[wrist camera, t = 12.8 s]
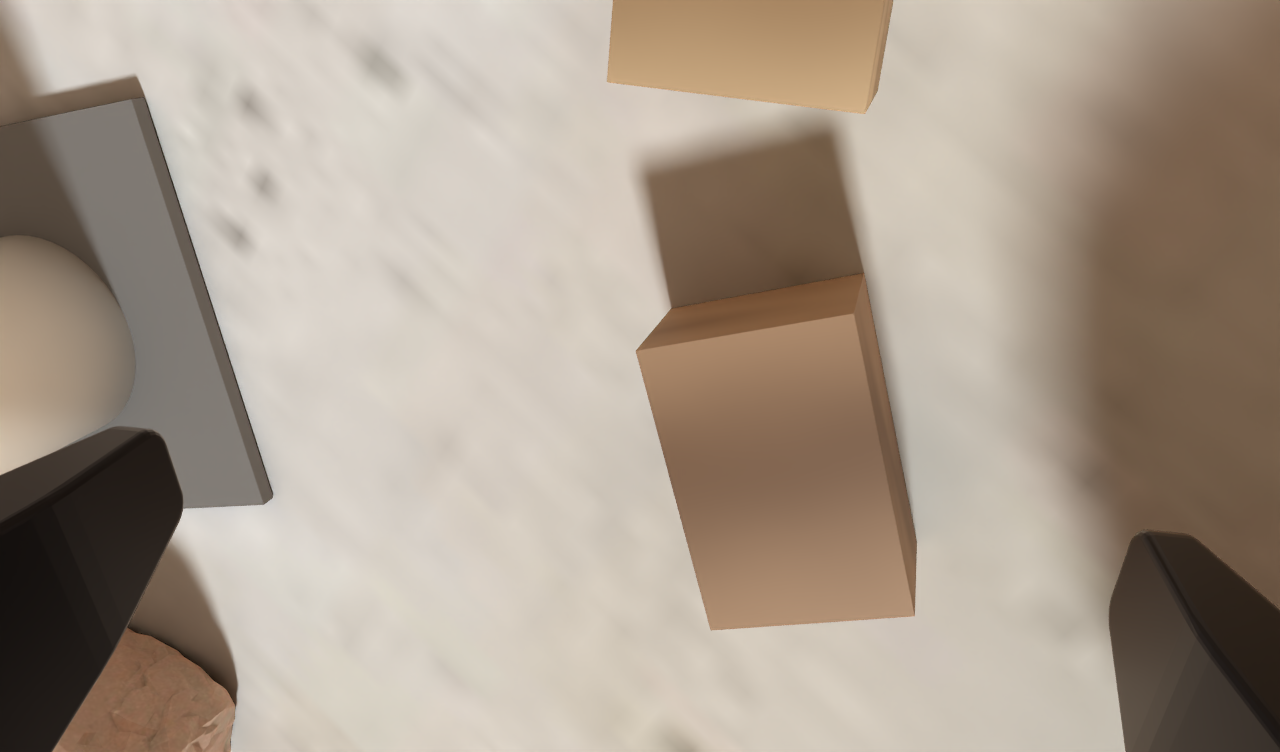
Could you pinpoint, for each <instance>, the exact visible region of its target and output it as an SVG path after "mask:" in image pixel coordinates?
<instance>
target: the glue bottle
mask: <svg viewBox="0 0 1280 752" xmlns="http://www.w3.org/2000/svg"><path fill="white" fill-rule="evenodd" d="M135 365H136V363H135V351H134V346H133V340H132V336H131V333H130V330H129V327H128V324H127V321H126V319H125V317H124V314H123V312H122V310H121V308H120V306H119V305H118V303H117V301H116V299H115V297H114V296H113V295H112V293H111V292H110V290H109V289H108V287H107V286H106V285H105V283H104V282H103V281H102V280H101V279H100V277H99V276H98V275H97V274H96V273H95V272H94V271H93V270H92V269H91V268H90V267H89V266H88V265H87V264H86V263H84V262H83V261H82V260H81V259H79V258H78V257H77V256H76V255H74V254H73V253H71V252H69V251H68V250H66V249H65V248H63V247H61V246H59V245H57V244H55V243H53V242H50V241H47V240H44V239H41V238H37V237H32V236H25V235H13V236H5V237H1V238H0V475H2V474H4V473H6V472H9V471H11V470H13V469H16V468H18V467H20V466H23V465H25V464H27V463H30V462H32V461H34V460H36V459H39V458H41V457H43V456H46V455H48V454H50V453H53V452H55V451H57V450H59V449H61V448H63V447H65V446H67V445H68V444H70V443H72V442H74V441H76V440H78V439H80V438H82V437H84V436H86V435H88V434H90V433H92V432H94V431H96V430H97V429H99V428H101V427H103V426H105V425H106V424H108V423H110V422H111V421H112V420H113V419H114V418H116V417H117V416H118V415H119V413H120V412H121V411H122V410H123V408H124V407H125V405H126V403H127V401H128V399H129V397H130V394H131V392H132V389H133V384H134V379H135Z"/></svg>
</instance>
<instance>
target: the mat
mask: <svg viewBox="0 0 1280 752" xmlns="http://www.w3.org/2000/svg"><path fill="white" fill-rule="evenodd" d="M13 235H25V236H32V237H37V238H41V239H44V240H47V241H50V242H53V243H55V244H57V245H59V246H61V247H63V248H65V249H66V250H68V251H69V252H71V253H73V254H74V255H76V256H77V257H78V258H79V259H81V260H82V261H83V262H84V263H86V264H87V265H88V266H89V267H90V268H91V269H92V270H93V271H94V272H95V273H96V274H97V275H98V276H99V277H100V279H101V280H102V281H103V282H104V283H105V285H106V286H107V287H108V289H109V290H110V292H111V293H112V295H113V296H114V297H115V299H116V301H117V303H118V305H119V306H120V308H121V310H122V312H123V314H124V317H125V319H126V321H127V324H128V327H129V330H130V333H131V336H132V340H133V346H134V351H135V363H136V365H135V379H134V384H133V389H132V392H131V394H130V397H129V399H128V401H127V403H126V405H125V407H124V408H123V410H122V411H121V412H120V413H119V415H118V416H117V417H116V418H114V419H113V420H112V421H111V422H110V423H108V424H106V425H105V426H103V427H101V428H99V429H97V430H96V431H94V432H92V433H90V434H88V435H86V436H84V437H82V438H80V439H78V440H76V441H74V442H72V443H70V444H68V445H67V446H69V445H71V444H74V443H76V442H78V441H81V440H83V439H85V438H88V437H90V436H92V435H95V434H97V433H99V432H102V431H104V430H106V429H109V428H112V427H116V426H128V427H137V428H147V429H153V430H155V431H157V432H159V433H160V434H161V436H162V437H163V438H164V440H165V442H166V444H167V447H168V450H169V453H170V456H171V459H172V462H173V465H174V468H175V471H176V474H177V477H178V480H179V483H180V486H181V489H182V492H183V500H184V504H183V508H204V507H225V506H246V505H264V504H265V503H267V502H268V501H269V500H271V499H272V498H273V495H272V492H271V489H270V486H269V483H268V480H267V477H266V473H265V470H264V467H263V464H262V461H261V458H260V455H259V452H258V449H257V446H256V442H255V439H254V436H253V433H252V430H251V427H250V424H249V421H248V418H247V415H246V411H245V408H244V405H243V402H242V399H241V396H240V393H239V390H238V387H237V384H236V381H235V377H234V374H233V371H232V368H231V365H230V362H229V359H228V356H227V353H226V350H225V346H224V343H223V340H222V337H221V334H220V331H219V328H218V325H217V322H216V319H215V315H214V312H213V309H212V306H211V303H210V300H209V297H208V294H207V291H206V288H205V284H204V281H203V278H202V275H201V272H200V269H199V266H198V263H197V260H196V257H195V254H194V250H193V247H192V244H191V241H190V238H189V235H188V232H187V229H186V226H185V223H184V219H183V216H182V213H181V210H180V207H179V204H178V201H177V198H176V195H175V192H174V188H173V185H172V182H171V179H170V176H169V173H168V170H167V167H166V164H165V161H164V158H163V154H162V151H161V148H160V145H159V142H158V139H157V136H156V133H155V130H154V127H153V123H152V120H151V117H150V114H149V111H148V108H147V105H146V102H145V99H144V98H136V99H129V100H125V101H120V102H115V103H110V104H106V105H101V106H96V107H91V108H86V109H82V110H77V111H72V112H67V113H63V114H58V115H53V116H48V117H44V118H39V119H34V120H29V121H25V122H20V123H15V124H10V125H5V126H1V127H0V238H1V237H5V236H13ZM67 446H65V447H67ZM63 448H64V447H63ZM61 449H62V448H61ZM59 450H60V449H59Z"/></svg>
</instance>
